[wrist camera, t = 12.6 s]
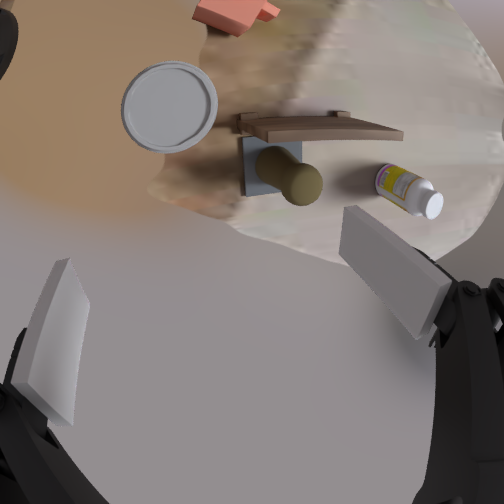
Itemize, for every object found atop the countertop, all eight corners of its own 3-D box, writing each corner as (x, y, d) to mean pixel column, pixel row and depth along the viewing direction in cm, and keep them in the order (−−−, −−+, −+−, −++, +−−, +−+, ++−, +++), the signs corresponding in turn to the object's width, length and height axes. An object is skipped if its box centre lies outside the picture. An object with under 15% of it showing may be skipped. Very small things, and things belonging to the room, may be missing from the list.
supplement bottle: (400, 187, 50) (446, 215, 40) (376, 201, 50) (422, 232, 40) (396, 157, 46) (446, 181, 36) (370, 170, 46) (420, 197, 36)
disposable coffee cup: (166, 57, 29) (165, 40, 19) (219, 99, 34) (240, 100, 24) (119, 113, 31) (99, 120, 21) (173, 151, 36) (175, 174, 26)
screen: (236, 113, 36) (267, 122, 25) (347, 111, 40) (404, 125, 29) (238, 134, 37) (268, 152, 27) (347, 129, 41) (402, 147, 31)
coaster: (241, 137, 38) (242, 137, 37) (300, 133, 40) (302, 133, 39) (245, 195, 43) (246, 196, 42) (300, 188, 45) (301, 189, 44)
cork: (300, 155, 41) (338, 176, 32) (282, 189, 43) (315, 219, 34) (266, 139, 38) (298, 155, 29) (248, 176, 41) (274, 203, 32)
